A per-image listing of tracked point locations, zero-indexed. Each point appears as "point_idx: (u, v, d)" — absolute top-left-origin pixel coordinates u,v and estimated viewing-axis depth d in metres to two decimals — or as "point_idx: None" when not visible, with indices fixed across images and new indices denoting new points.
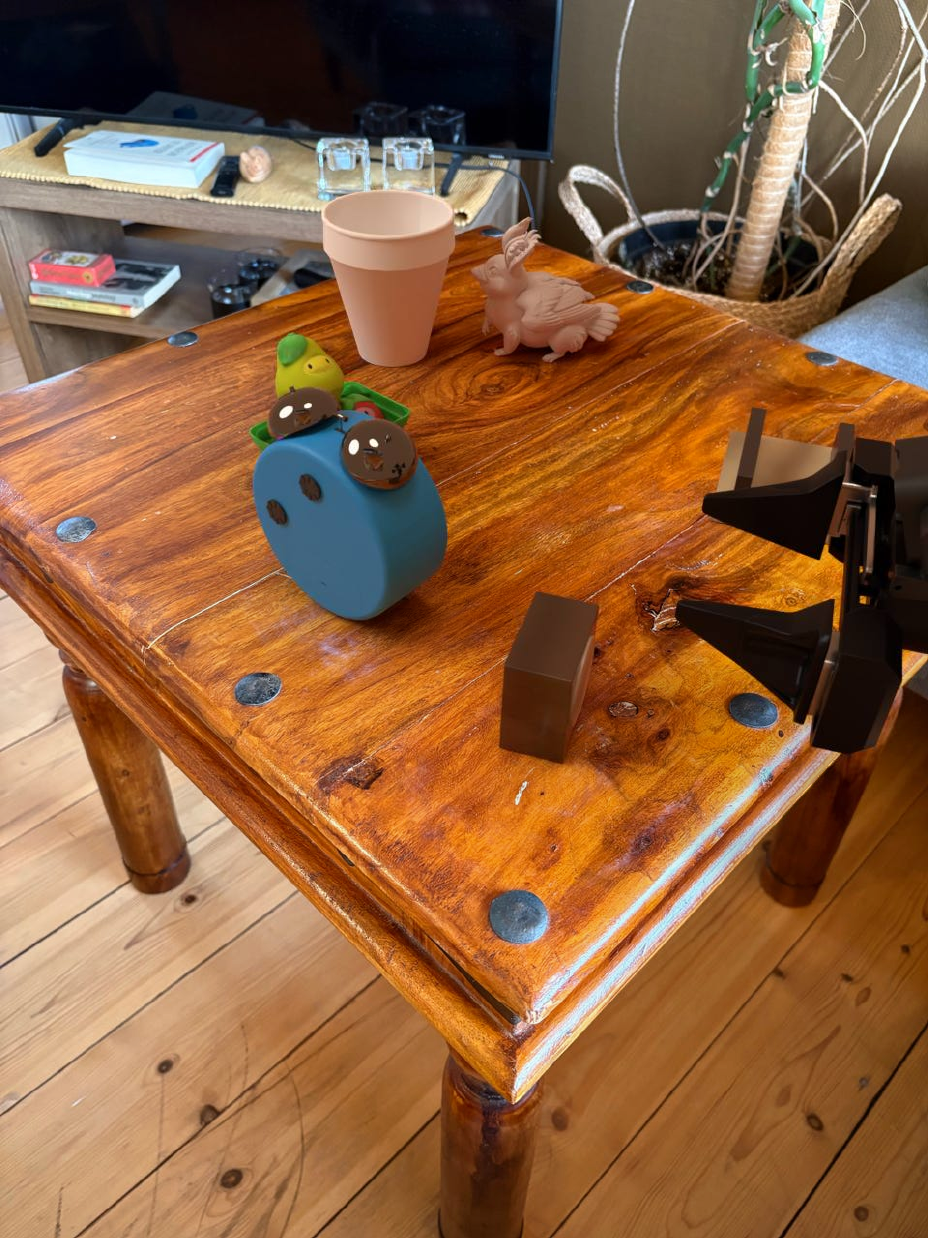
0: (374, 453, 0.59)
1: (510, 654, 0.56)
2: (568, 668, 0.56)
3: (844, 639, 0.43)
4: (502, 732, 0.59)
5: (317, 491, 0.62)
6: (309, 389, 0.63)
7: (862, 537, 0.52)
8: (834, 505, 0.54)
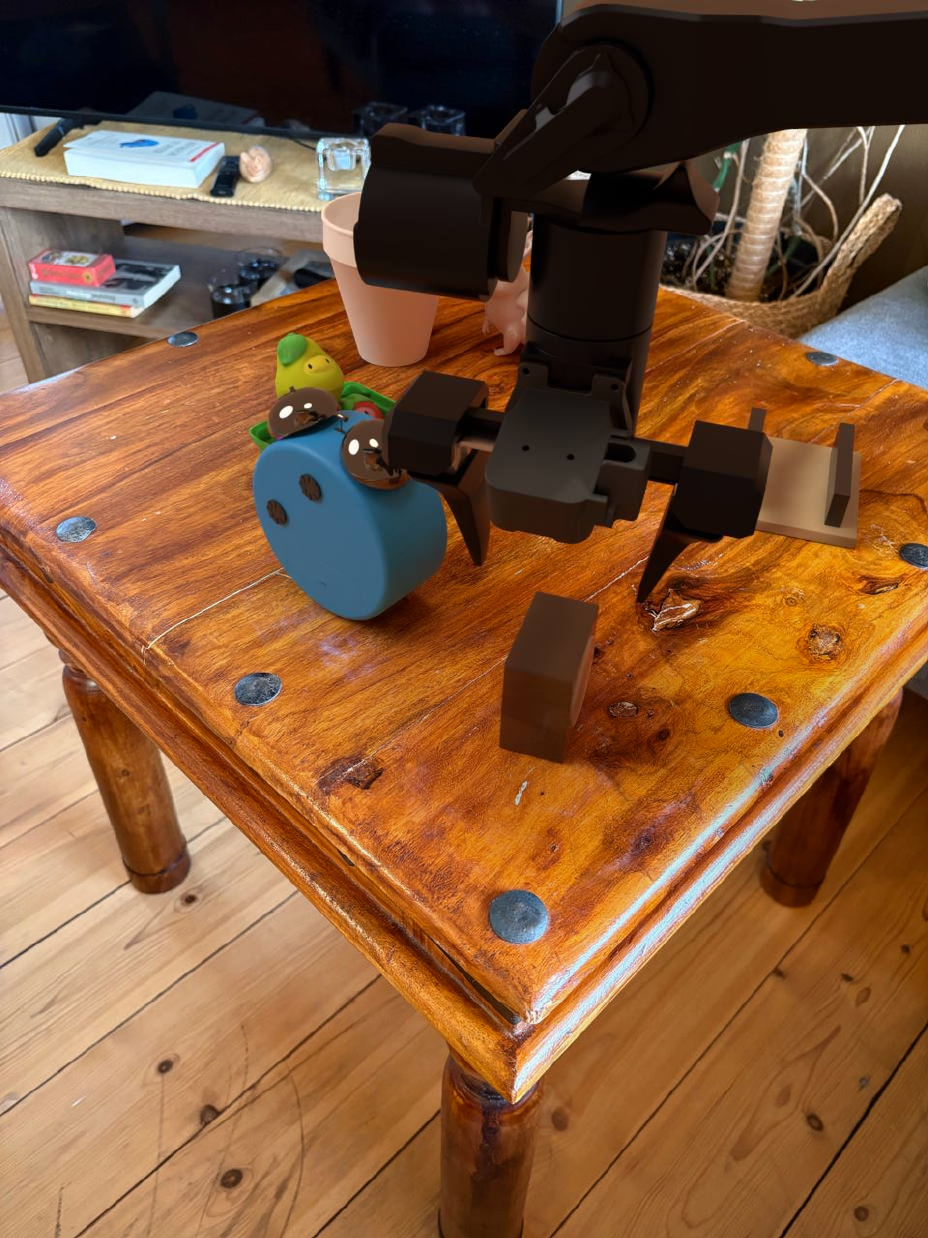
0: (374, 453, 0.59)
1: (510, 654, 0.56)
2: (568, 668, 0.56)
3: (721, 532, 0.46)
4: (502, 732, 0.59)
5: (317, 491, 0.62)
6: (309, 389, 0.63)
7: None
8: (470, 465, 0.51)
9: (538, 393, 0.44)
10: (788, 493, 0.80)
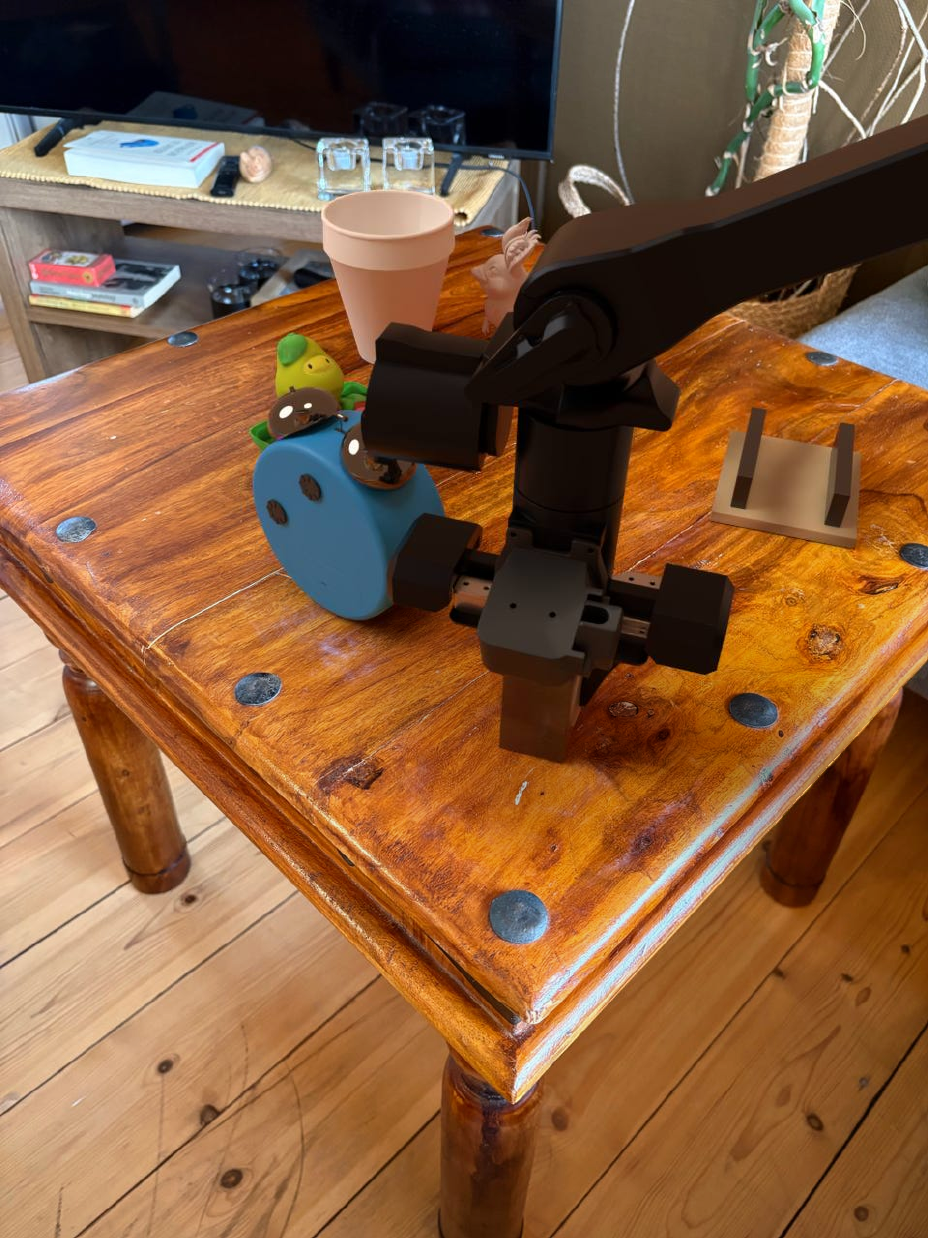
0: None
1: None
2: None
3: (687, 669, 0.52)
4: (502, 732, 0.59)
5: (317, 491, 0.62)
6: (309, 389, 0.63)
7: None
8: None
9: (524, 553, 0.50)
10: (788, 493, 0.80)
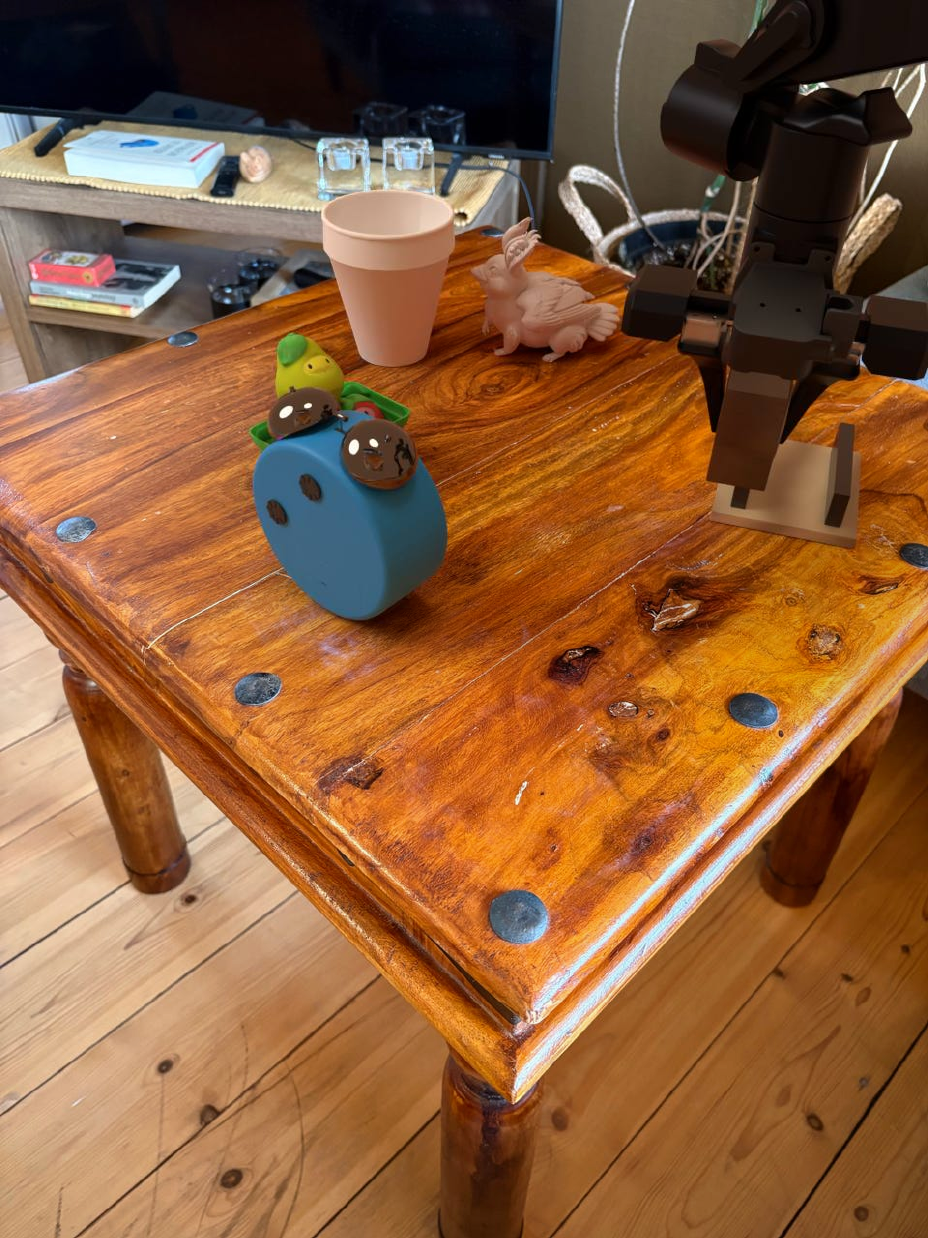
0: (374, 453, 0.59)
1: (729, 382, 0.64)
2: (782, 391, 0.63)
3: (899, 376, 0.60)
4: (712, 463, 0.67)
5: (317, 491, 0.62)
6: (309, 389, 0.63)
7: None
8: (725, 342, 0.64)
9: (765, 266, 0.58)
10: (788, 493, 0.80)
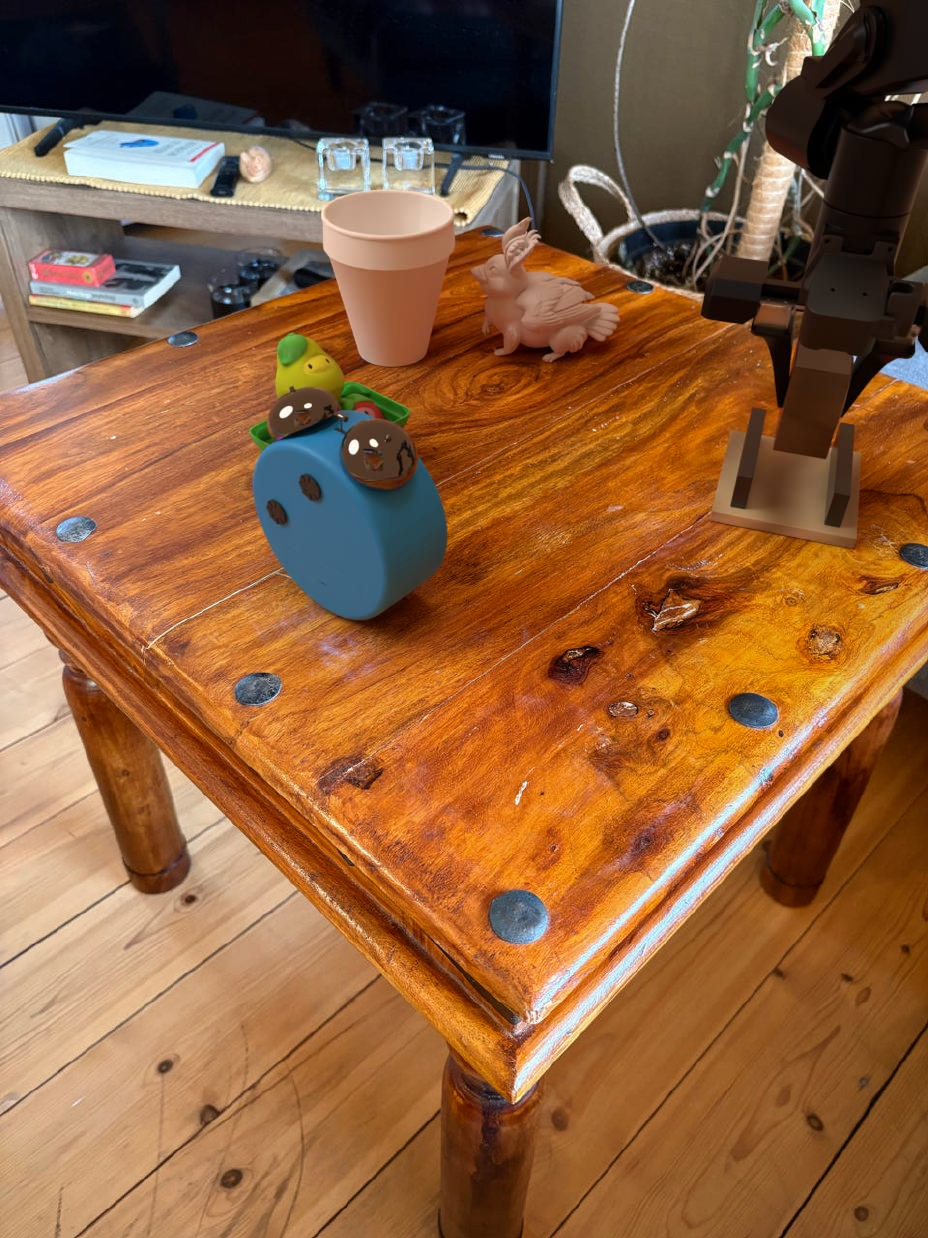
0: (374, 453, 0.59)
1: (796, 360, 0.72)
2: (845, 368, 0.71)
3: None
4: (779, 434, 0.75)
5: (317, 491, 0.62)
6: (309, 389, 0.63)
7: None
8: (793, 325, 0.72)
9: (834, 256, 0.66)
10: (788, 493, 0.80)
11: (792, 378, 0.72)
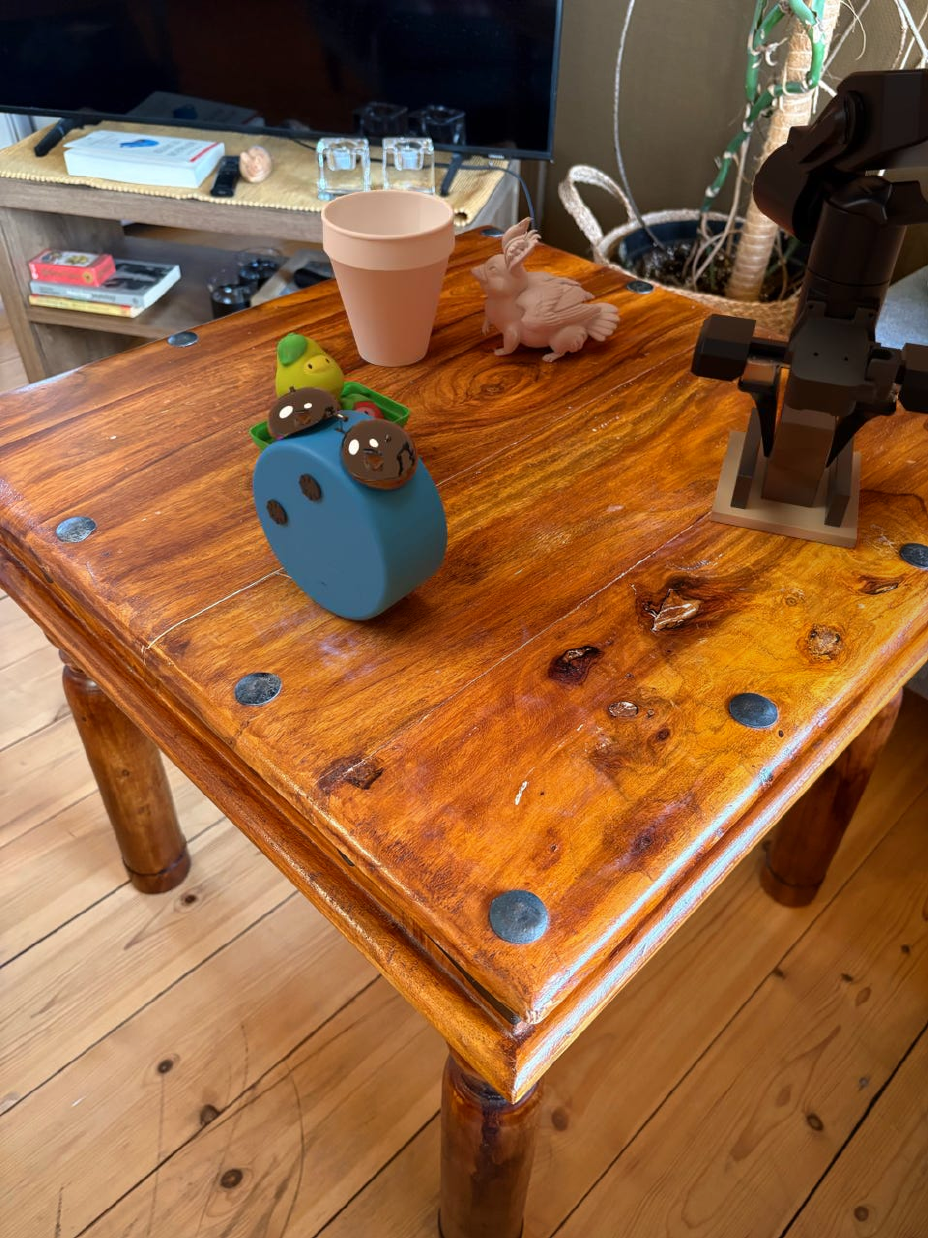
0: (374, 453, 0.59)
1: (782, 415, 0.75)
2: (829, 423, 0.74)
3: None
4: (766, 483, 0.78)
5: (317, 491, 0.62)
6: (309, 389, 0.63)
7: None
8: (778, 381, 0.75)
9: (817, 321, 0.69)
10: None
11: (778, 432, 0.75)
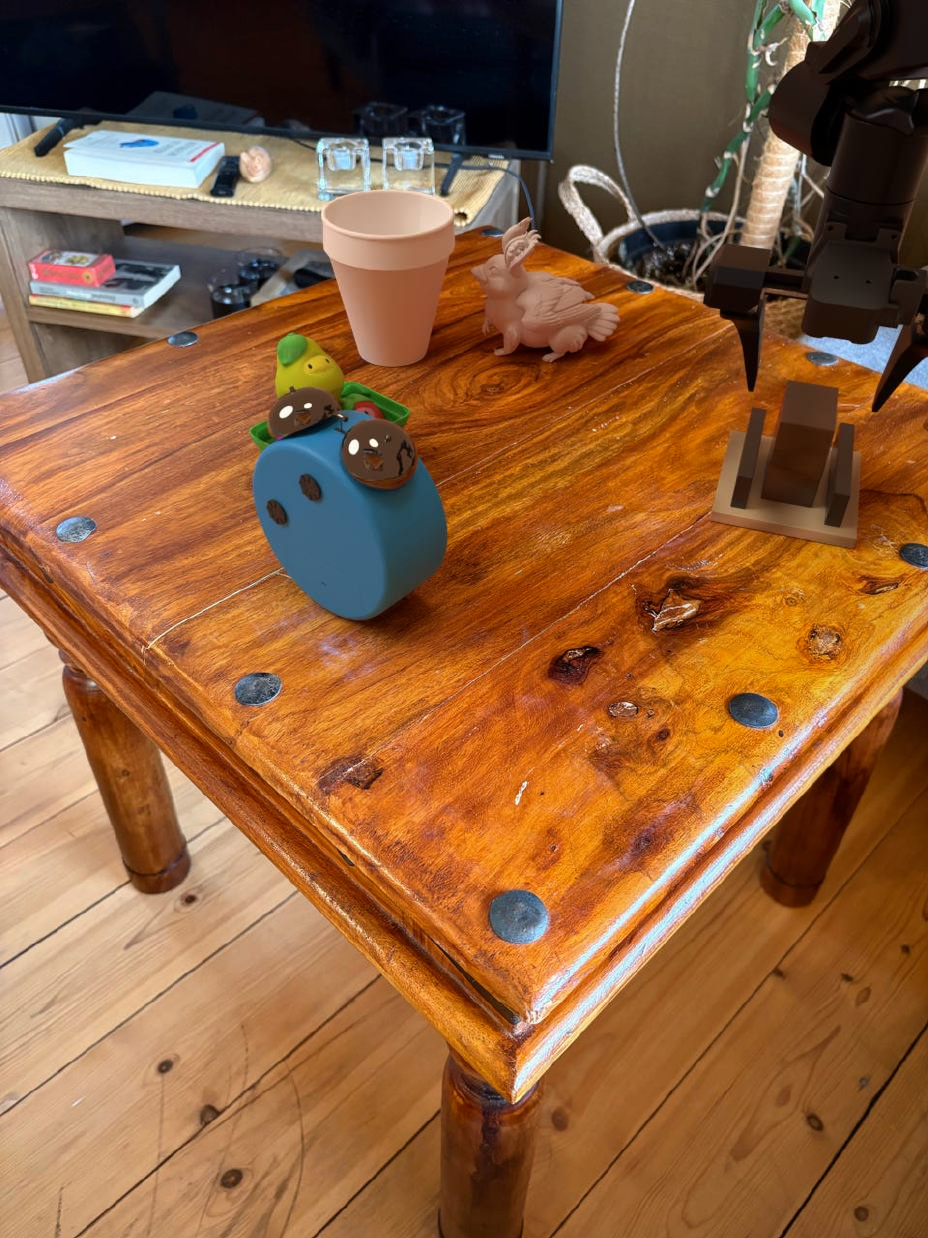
0: (374, 453, 0.59)
1: (782, 415, 0.75)
2: (829, 423, 0.74)
3: None
4: (766, 483, 0.78)
5: (317, 491, 0.62)
6: (309, 389, 0.63)
7: None
8: (762, 309, 0.72)
9: (837, 243, 0.65)
10: None
11: (778, 432, 0.75)
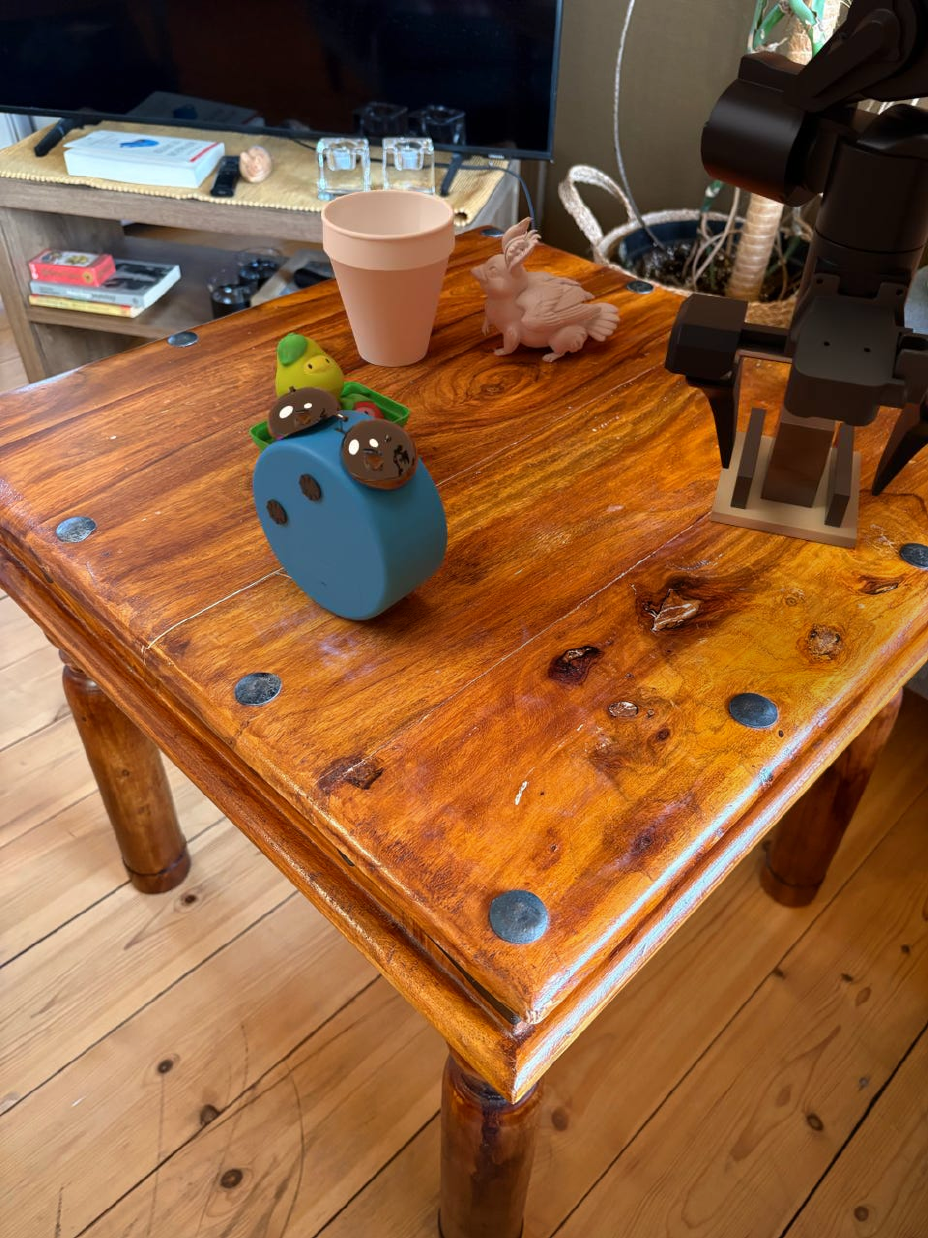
0: (374, 453, 0.59)
1: (782, 415, 0.75)
2: (829, 423, 0.74)
3: None
4: (766, 483, 0.78)
5: (317, 491, 0.62)
6: (309, 389, 0.63)
7: None
8: (737, 373, 0.59)
9: (828, 300, 0.52)
10: None
11: (778, 432, 0.75)
